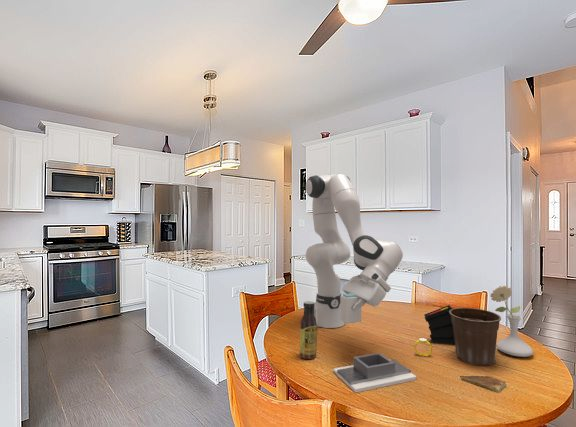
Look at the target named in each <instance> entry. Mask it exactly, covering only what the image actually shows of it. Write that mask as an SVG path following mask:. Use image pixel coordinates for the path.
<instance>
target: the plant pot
mask: <svg viewBox="0 0 576 427" xmlns="http://www.w3.org/2000/svg"><path fill="white" fill-rule="evenodd" d="M449 313H450V315H451V321H452V324H453V331H454V339H455V345H454V347H455V355H456V358H458V359H460V361H462V362H464V363H467V364H471V365H474V366H481V367H483V366H484V365H487V366H493V364H495V363H496V353H497V352H496V351H497V350H496V349H497V346H496V345H497V339H498V331H499V330H500V329H499V328H500V321H501V320H502V316H501V315H500V314H498V313H496V312H493V311H490V310H486V309H481V308H474V307H473V308H472V307H455V308H452V309H451V310H450V311H449Z"/></svg>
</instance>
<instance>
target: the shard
mask: <svg viewBox="0 0 576 427" xmlns="http://www.w3.org/2000/svg"><path fill="white" fill-rule="evenodd" d="M459 377H460V379H461V381H464V382H466V383H470V384H474V385H477V386H479V385H480V387H482V388H484V389H488V390H490V391H493V392H495V393H500V392H501V391H502V390H503V389H504V388H506V385H507V381H506V380H502V379H500V378H499V379H498V378H497V377H494V376H487V375H484V376H483V375H470V376H469V375H465V376H464V375H460V376H459Z"/></svg>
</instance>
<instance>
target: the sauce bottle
mask: <svg viewBox="0 0 576 427" xmlns="http://www.w3.org/2000/svg"><path fill="white" fill-rule="evenodd" d="M314 303H315V302H314V301H309V300H307V301H303V315H302V317H301V319H300V328H299V330H300V331H299V334H300V335H299V356H300V358H302V359H303V360H304V359H305V360H313V359H315V358H316V357H317V353H318V350H317V348H318V346H317V345H318V344H317V343H318V338H317V336H318V326H317V323H316V318H315V316H314V306H315V305H314Z"/></svg>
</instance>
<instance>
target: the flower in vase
mask: <svg viewBox="0 0 576 427" xmlns="http://www.w3.org/2000/svg"><path fill="white" fill-rule="evenodd" d="M490 297H491V301H493V302H497V303H501V302H503V301H504V304H505V306H499V307H497V308H495V310H494V311H495V312H499V313H504V312H505V311H506V310H507V311H508V312H509V313H507V314H505V317H506V318H507V320H508V322H509V327H510V329H509V331H510V333H509V335H508V336H507V337H505V338H503V339H501V340H499V341H498V342H496V349H498V350H499V351H500V352H502V353H504V354H507V355H510V356H514V357H522V358H526V357H530V356H532V355H533V354H534V350H533V348H532V347H531V346H530V345H529V344H528V343H526V342H525V341H524V340H523V339H522V338H521V337H520V336H519V331H518V330H519V323H520V321H521V320H522V318H523V317H522V316H521V315H519V314H515V313H519V311H520V309H521V306H520V305H519V306H516V307H512V308H511V309H509V307H508V305H507V301H508V300H509V298H511V297H512V288H511V287H508V286H507V285H499V286H498V287H496V288H495V289H493V290H492V293H490ZM506 300H507V301H506Z"/></svg>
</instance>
